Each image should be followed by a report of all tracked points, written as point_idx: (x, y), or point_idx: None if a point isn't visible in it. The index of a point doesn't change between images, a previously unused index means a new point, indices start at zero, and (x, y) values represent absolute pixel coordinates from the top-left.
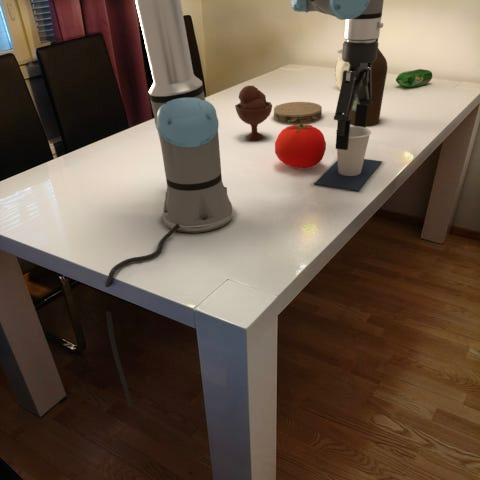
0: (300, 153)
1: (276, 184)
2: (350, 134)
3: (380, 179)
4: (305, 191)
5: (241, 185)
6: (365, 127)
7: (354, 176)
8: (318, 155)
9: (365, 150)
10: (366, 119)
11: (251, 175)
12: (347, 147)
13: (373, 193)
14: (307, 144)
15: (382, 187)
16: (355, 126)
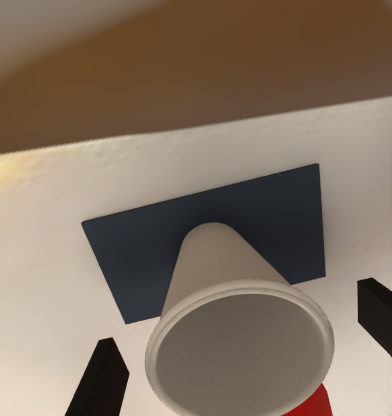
0: (321, 385)
1: (353, 332)
2: (181, 364)
3: (202, 156)
4: (365, 267)
5: (383, 373)
6: (92, 363)
7: (235, 224)
8: None
9: (214, 249)
10: (68, 414)
11: (330, 389)
12: (370, 285)
13: (308, 119)
14: (316, 408)
15: (254, 119)
16: (162, 395)
